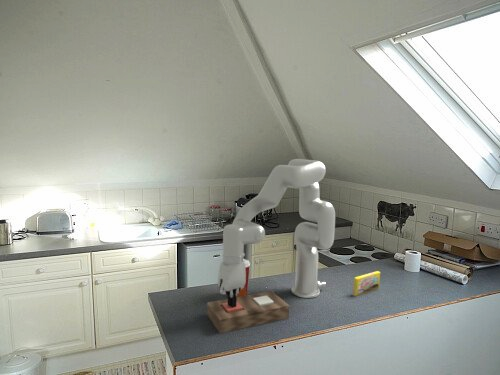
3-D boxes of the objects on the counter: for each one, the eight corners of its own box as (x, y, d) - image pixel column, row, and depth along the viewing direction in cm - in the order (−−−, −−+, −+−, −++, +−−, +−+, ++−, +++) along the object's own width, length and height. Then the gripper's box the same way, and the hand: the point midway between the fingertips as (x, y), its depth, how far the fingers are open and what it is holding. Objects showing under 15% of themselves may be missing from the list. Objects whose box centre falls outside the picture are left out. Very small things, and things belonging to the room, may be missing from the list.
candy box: (356, 296, 159) (357, 278, 157) (352, 295, 160) (353, 277, 159) (379, 289, 168) (380, 271, 166) (375, 287, 169) (376, 270, 168)
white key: (266, 302, 145) (266, 295, 145) (273, 309, 140) (273, 301, 139) (252, 305, 143) (253, 298, 142) (259, 312, 137) (259, 304, 137)
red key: (236, 308, 140) (236, 300, 139) (242, 315, 134) (243, 307, 134) (221, 311, 137) (222, 303, 137) (227, 318, 132) (227, 310, 131)
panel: (271, 302, 151) (271, 291, 150) (288, 317, 139) (289, 305, 138) (207, 315, 139) (207, 302, 138) (219, 333, 127) (220, 319, 126)
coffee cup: (239, 288, 164) (239, 256, 162) (253, 294, 159) (254, 261, 156) (226, 294, 157) (226, 261, 155) (240, 300, 152) (241, 266, 150)
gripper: (242, 252, 140) (241, 297, 143) (210, 259, 131) (209, 307, 133) (255, 257, 135) (253, 304, 137) (222, 265, 125) (221, 315, 128)
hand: (232, 305), depth 135 cm, fingers closed
